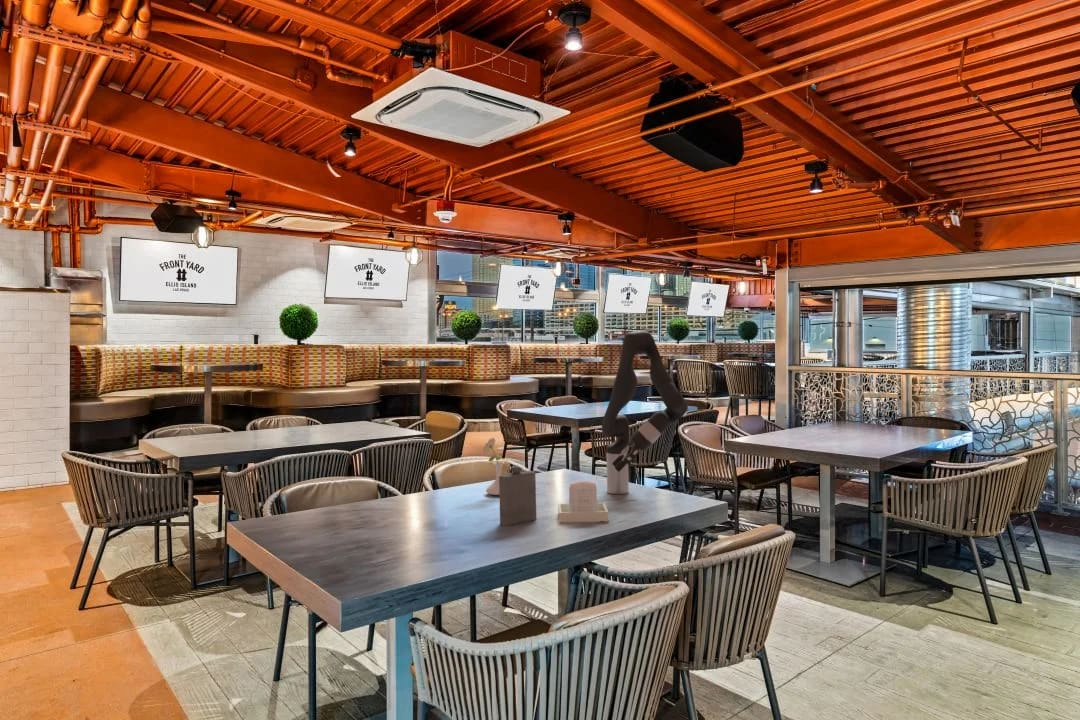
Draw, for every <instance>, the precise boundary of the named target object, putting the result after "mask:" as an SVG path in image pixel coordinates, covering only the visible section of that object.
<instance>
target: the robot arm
mask: <svg viewBox="0 0 1080 720" xmlns="http://www.w3.org/2000/svg"><path fill="white" fill-rule="evenodd" d="M639 355H645V356H647V358H648V360H649V362H650V367H649V376H650V380H651V382H652V384H653V386H654V388H655V389H656V391H657V392H658V394H659V395H660V396H659V397H660V398H661V400H662V402H663V404H664V406H665V407H666V408H665V409H663V410H662V411H660V410H659V411H656V412H654V413H653V414H652V415H651V416H650V417H649V418H648V419H647V420H646V421H645V422H643V424H641V425H640V426H639V428H638V429H636V430H635V432H634V433H632V435H631V436H630V435H629V434H630V423H629V419H628V417H627V416H626V415H624V414H619V413H620V412H621V411H622V410H623V408H624V407H626V406H627V405H628V404H629V403H630V402H631V401H632V399H633V397H634V396H635V393H636V390H637V386H638V377H637V374H636V371H635V370H634V366H633V362H634V359H635V356H639ZM619 359H620V360H619V363H618V367H617V368H618V369H617V373H616V376H615V379H614V383H613V386H612V392H611V395H610V399H609V403H608V404H607V408H606V411H605V414H604V416H603V418H602V421H601V432H602V434H603V436H604V437H606V438H615V437H616V439H615V440H614V441H613V442H612V443H610V444H609V443H608V445H607V446H606V447H605V448H606V449H605V451H606V491H607V492H606V493H608V494H612V495H625V494H628V493H629V491H630V490H629V465H630V464H631V463H632V462H633V461H634V460H635V459H636V457H638V456H639V454H640V453H641V452H640V450H641V451H642V452H643V453H645V452H646V451H647V450H648V449H649V448H650V447H652V445H653V444H654V443H655V442H656V441H657V440H658V439H659V437H660V436H661V435H662V434H663V433H664V432H665V431H666V429H668V428H669V426H671V425H673V423H675V422H677V421H678V420H680V419H681V418H682V417H683V416H684V415H685V414H686V413H687V411H688V408H689V405H688V402H687V401H686V399H685V398H684V397H683V395H682V394H681V392H680V391H679V389H678V388H677V386H676V383H675V382H674V379H673V378H672V376H671V375H670V373H669V372H668V370H667V368H666V366H665V364H664V362H663V360H662V356H661V354H660V351H659V350H658V347H657V344H656V341H655V339H654V337H653V335H652V334H651V333H650V332H649V331H647V330H641V331H630V332H628V333H626V334H625V335H624V337H623V341H622V345H621V352H620V358H619ZM629 440H630V441H631V442H632V443H631V442H630V441H629Z"/></svg>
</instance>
